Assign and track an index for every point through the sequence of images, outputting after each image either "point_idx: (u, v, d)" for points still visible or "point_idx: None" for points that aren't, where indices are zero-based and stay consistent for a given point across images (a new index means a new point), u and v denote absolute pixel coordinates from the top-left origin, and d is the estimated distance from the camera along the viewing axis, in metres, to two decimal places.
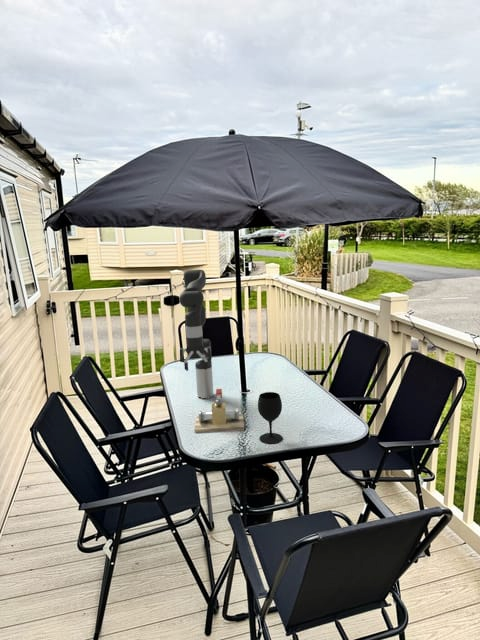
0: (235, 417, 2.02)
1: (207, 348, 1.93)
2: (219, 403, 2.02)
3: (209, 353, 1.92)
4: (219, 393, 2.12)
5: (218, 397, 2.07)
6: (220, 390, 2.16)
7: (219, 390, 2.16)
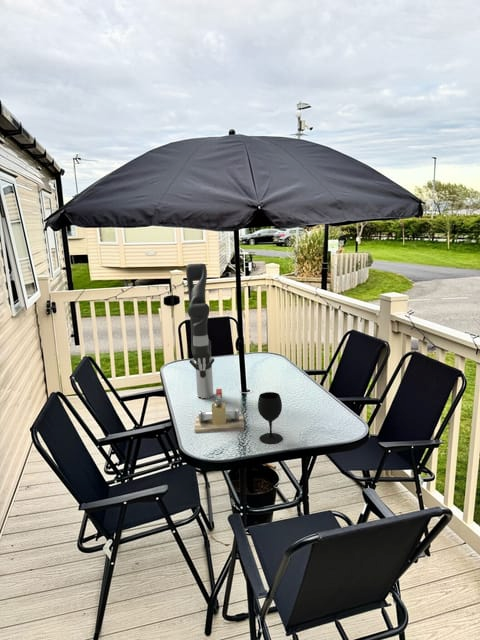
0: (235, 417, 2.02)
1: (212, 359, 2.12)
2: (219, 403, 2.02)
3: (210, 364, 2.11)
4: (219, 393, 2.12)
5: (218, 397, 2.07)
6: (220, 390, 2.16)
7: (219, 390, 2.16)
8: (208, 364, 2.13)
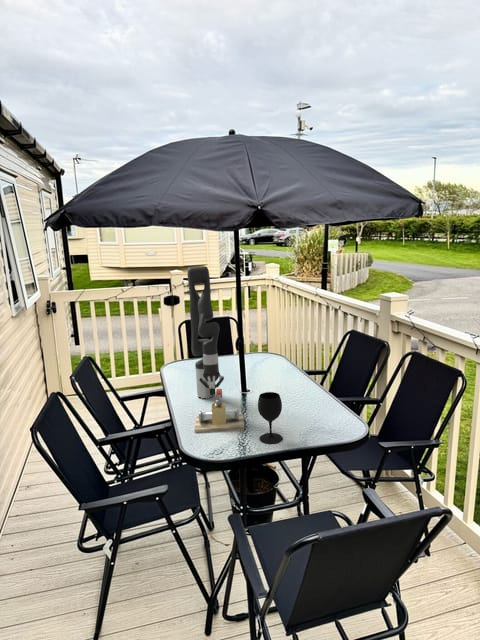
0: (235, 417, 2.02)
1: (221, 377, 2.13)
2: (219, 403, 2.02)
3: (220, 382, 2.13)
4: (219, 393, 2.12)
5: (218, 397, 2.07)
6: (220, 390, 2.16)
7: (219, 390, 2.16)
8: (218, 382, 2.15)
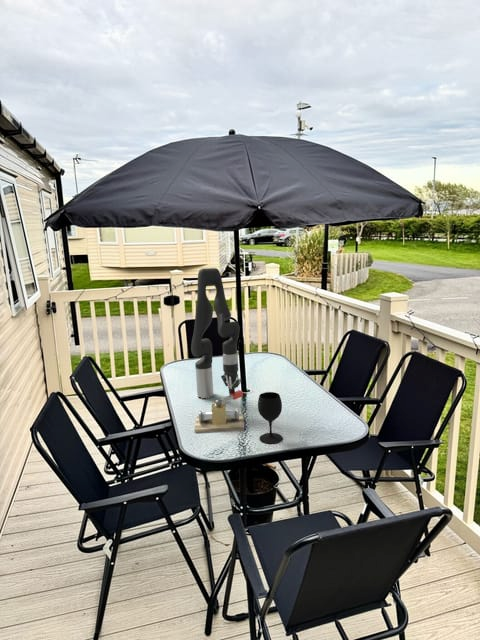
0: (235, 417, 2.02)
1: (237, 379, 2.09)
2: (217, 403, 2.02)
3: (235, 384, 2.09)
4: (232, 394, 2.09)
5: (225, 398, 2.06)
6: (238, 392, 2.11)
7: (237, 392, 2.12)
8: None
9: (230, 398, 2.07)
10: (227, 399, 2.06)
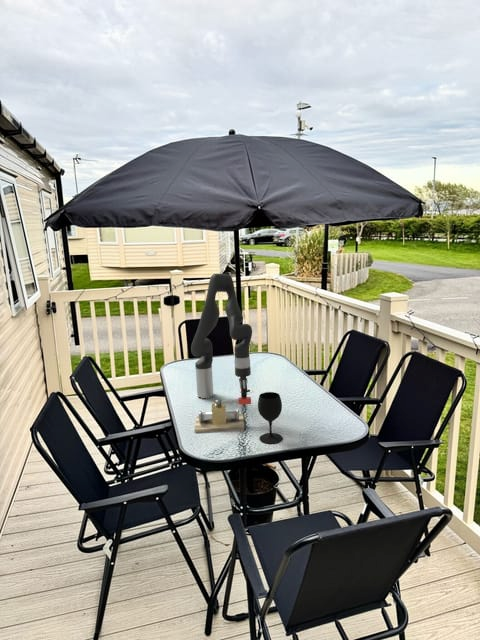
0: (235, 417, 2.02)
1: (243, 385, 2.00)
2: (215, 403, 2.02)
3: (241, 389, 2.01)
4: (238, 399, 2.03)
5: (227, 400, 2.03)
6: (245, 398, 2.02)
7: (245, 398, 2.03)
8: None
9: (233, 402, 2.02)
10: (229, 402, 2.02)
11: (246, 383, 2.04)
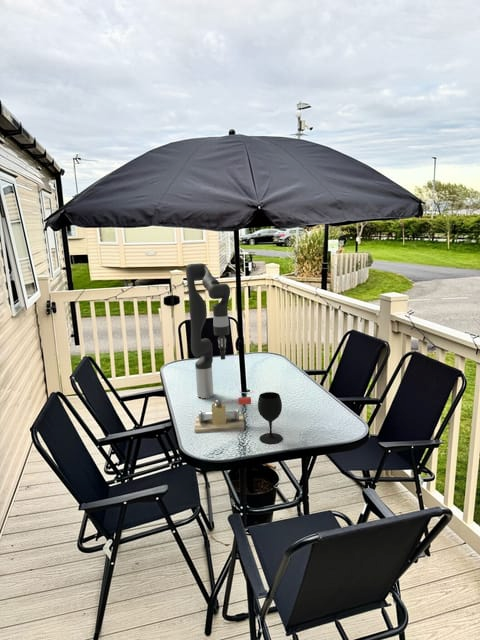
0: (235, 417, 2.02)
1: (220, 343, 2.05)
2: (215, 403, 2.02)
3: (219, 347, 2.06)
4: (238, 399, 2.03)
5: (227, 400, 2.03)
6: (245, 398, 2.02)
7: (245, 398, 2.03)
8: None
9: (233, 402, 2.02)
10: (229, 402, 2.02)
11: (224, 342, 2.08)
